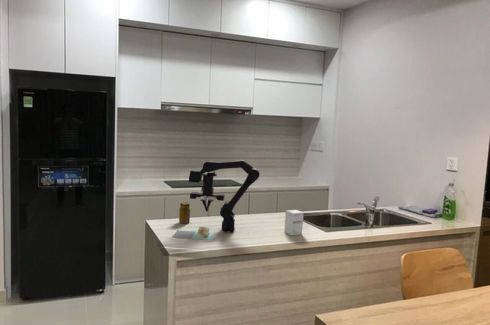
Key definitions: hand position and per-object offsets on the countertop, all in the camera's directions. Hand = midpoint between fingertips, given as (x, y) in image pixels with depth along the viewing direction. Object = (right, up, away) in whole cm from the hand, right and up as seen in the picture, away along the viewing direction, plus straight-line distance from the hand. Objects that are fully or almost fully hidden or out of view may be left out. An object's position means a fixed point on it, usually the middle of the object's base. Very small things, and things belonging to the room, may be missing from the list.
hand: (206, 211), depth 216 cm
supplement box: (+48, -13, +2) cm, 50 cm away
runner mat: (-6, -11, -12) cm, 18 cm away
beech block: (0, -11, -13) cm, 17 cm away
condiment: (-14, -9, +9) cm, 18 cm away
